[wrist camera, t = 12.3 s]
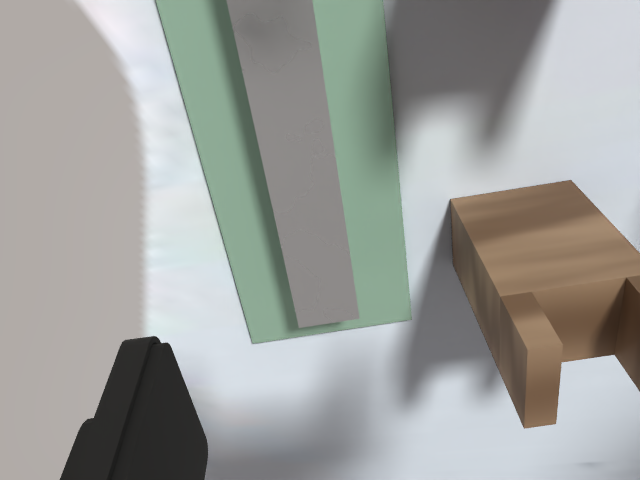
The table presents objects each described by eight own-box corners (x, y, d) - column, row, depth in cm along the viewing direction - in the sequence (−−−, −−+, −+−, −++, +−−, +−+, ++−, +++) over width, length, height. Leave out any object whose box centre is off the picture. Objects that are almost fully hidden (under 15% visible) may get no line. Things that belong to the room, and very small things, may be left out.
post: (450, 199, 29) (527, 349, 20) (571, 179, 29) (705, 323, 20) (452, 264, 32) (524, 428, 22) (565, 247, 31) (685, 405, 22)
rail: (202, -156, 21) (191, -160, 18) (285, -171, 21) (286, -178, 18) (297, 291, 31) (298, 327, 29) (353, 282, 31) (359, 318, 29)
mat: (90, -240, 20) (87, -242, 20) (355, -291, 20) (356, -293, 19) (253, 339, 34) (252, 343, 33) (410, 314, 33) (411, 319, 33)
